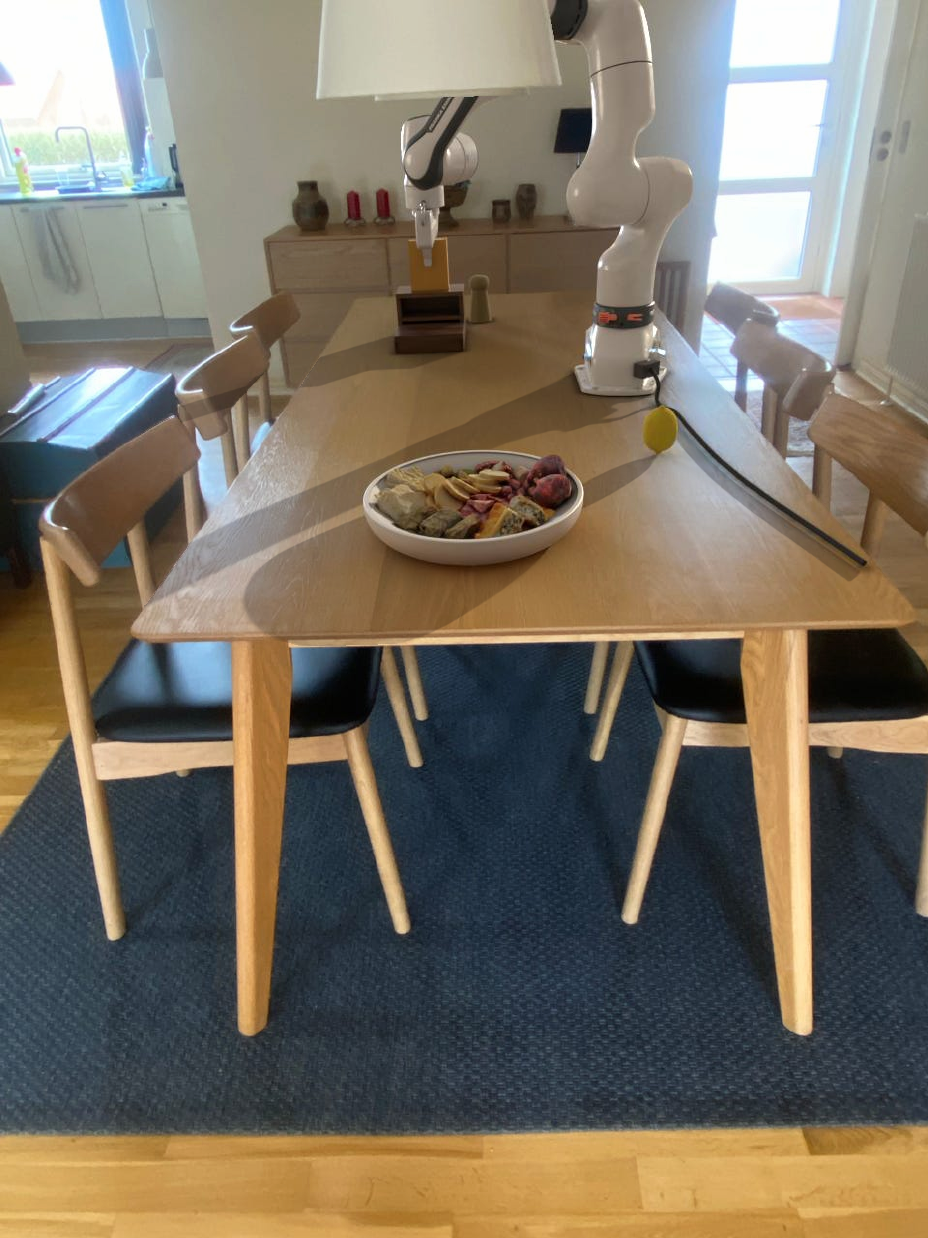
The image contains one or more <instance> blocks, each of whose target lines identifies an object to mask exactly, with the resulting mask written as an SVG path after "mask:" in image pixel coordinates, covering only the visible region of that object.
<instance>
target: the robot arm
mask: <svg viewBox="0 0 928 1238" xmlns="http://www.w3.org/2000/svg"><path fill="white" fill-rule="evenodd" d="M548 9H549V14H550V19H551V24H552V30H553V35H554V42H557V43H561V44H565V45H566V46H570V47H579V48H580V47H581V48H582V47H583V48H585V51H586V54H587V61H588V72H589V73H588V75H589V76H588V77H589V86H590V100H591V119H592V123H591V136H590V141H589V145H588V149H587V151H586V154H585V156H584V159H583V161H582V162H581V164H580V165H579V167H578V168H577V169H576V170H575V172H574V173H573V174H572V176H571V177H570V179H569V181H568V184H567V188H566V194H565V197H566V198H565V199H566V207H567V210H568V213H569V215H570V217H571V218H572V220H573V221H574V223H576V224H577V225H578V226H580V227H586V228H593V229H608V228H616V227H620V229H619V233H618V235H617V237H616V239H615V240H614V242H613V243H612V244H611V245H610V247H609V248H608V249H606V250H605V251H604V252H603V253H602V255H601V256H600V257H599V259H598V262H597V268H596V269H597V270H596V271H597V272H596V293H595V295H596V296H595V301H594V302H593V307H592V322H593V323H592V325H591V326H590V327H589V328H588V329H586V330H585V347H584V353H583V355H582V360H583V361H584V364H579V365H576V366H575V367H574V370H573V371H574V375H575V378H576V381H577V383H578V386H579V389H580V392H581V393H585V394H589V395H596V396H609V397H610V396H612V397H613V396H615V397H631V396H633V397H634V396H646V395H650V394H654V401H655V404H656V406H657V408H658V407H660V406H662V405H663V404H662V402H661V401H660V393H661V387H662V386H661V385H662V384H661V382H662V381H663V380H664V378H665V377H666V375H667V373H668V368H667V367H666V366H663V365H661V355H666V350H663V349H661V341H660V334H661V331H660V330H659V329H658V328H657V327H656V326H655V324H654V319H655V318H654V317H655V311H656V307H655V301H654V299H653V298H654V288H655V279H656V270H657V263H658V259H659V254H660V251H661V248H662V246H663V243H664V240H665V238H666V236H667V234H668V232H669V230H670V228H671V226H672V225H673V223H674V222H675V220H677V218H678V217H679V216H680V215H681V214H682V212H684V211H685V210H686V209H687V207H688V206H689V203H690V202H691V199H692V196H693V192H694V177H693V173H692V171H691V168H690V166H689V164H687V163H686V162H685V160H682V159H679V158H675V157H671V156H665V155H656V156H646V157H636V155H635V153H636V152H635V151H636V143H637V140H638V137H639V135H640V134H641V133H642V132H643V131H644V130H646V128H647V127H648V126H649V125H650V124H651V122H652V121H653V119H654V118H655V117H654V116H655V113H656V97H655V95H656V94H655V81H654V65H653V54H652V46H651V38H650V34H649V29H648V22H647V19H646V15H645V11H644V8H643V6H642V4H641V2H640V1H639V0H548ZM502 97H504V96H474V97H443V98H442V97H441V98H440V99H439V101H438V102H437V104H436V106H435V108H434V109H433V111H432V112H431V114H422V115H417V116H413V117H410V118H408V119H407V120H405V122H403V124H402V129H401V138H400V139H401V140H400V141H401V158H402V159H401V161H402V166H403V172H404V182H403V186H404V198H405V208H406V209H408V210H411V215H412V217H414V226H415V238H416V244H417V248H418V249H422V253H423V258H424V265H425V266H431V265H432V255H431V250H432V249H431V248H432V247H433V245H434V241H435V238H436V237H438V232H439V231H438V230H439V215H440V208H442V207H445V193H444V186H448V185H453V184H457V183H463V182H465V181H467V180H469V179H471V178H473V176H474V174H476V171H477V169H478V166H479V151H478V147H477V144H476V142H475V141H474V139H473V137H472V136H470V135H469V134H468V133H464V132H460V131H461V130H462V128H463V126H464V125H465V123H466V122H467V120H468V119H469V117H471V116H472V114H473V113H475V112H476V111H477V110H479V108H481V107H483V106H484V105H486V104H488V103H491V102H493V101H495V100H497V99H500V98H502ZM664 406H665V408H668V409H670V410H671V411H672V412H673V413H674V414H675V416H676V418H677V420H678V421H680V423H681V424H682V425H683V426H684V428H685V429H686V430H687V431H688V432H689V433H690V435H691V436H692V437H693V438H694V439H695V441H696V442H697V443H699V445H700V446H701V447H702V448H703V449H704V450H705V451H706V452H707V453H708V454H709V455H710V456H711V457H712V458H713V459H714V460H715V461H716V462H717V463H718V464H719V465H721V466H722V467H723V468H724V469H725V470H726V471H728V472H729V473H730V474H731V475H732V476H733V477H734V478H736V479H737V480H738V481H740V482H741V483H742V484H743V485H745V486H746V487H747V488H749V489H750V490H751V491H753V492H754V493H755V494H757V495H758V496H759V497H761V498H762V499H764V500H765V501H767V502H768V503H769V504H771V505H772V506H774V507H775V508H777V509H778V510H779V511H781V512H782V513H784V514H785V515H787V516H788V517H790V518H791V519H792V520H794V521H796V522H797V523H798V524H800V525H801V526H803V527H804V528H806V529H808V530H809V531H810V532H812V533H813V534H815V535H816V536H818V537H819V538H821V539H823V540H824V541H825V542H827V543H828V544H830V545H831V546H833V547H834V548H836V549H837V550H838V551H840V552H841V553H842V554H844V555H846V556H847V557H849V558H850V559H851V560H853V561H854V562H855V563H857V564H859V566H861V567H865V566H866V565H867V564H868V561H867V560H866V559H865V558H863V557H861V556H860V555H859V554H857V553H856V552H854V551H853V550H852V549H850V548H849V547H847V546H846V545H844V544H843V543H841V542H840V541H839V540H837V539H835V538H834V537H832V536H831V535H829V534H828V533H826V532H825V531H824V530H822V529H821V528H819V527H818V526H816V525H814V524H813V523H811V522H810V521H809V520H807V519H805V518H804V517H802V515H799V514H798V513H796V511H794V510H792V509H790V508H789V507H788V506H786V505H784V504H783V503H781V502H780V501H778V500H777V499H775V498H774V497H772V496H771V495H770V494H768V493H766V492H765V491H764V490H762V489H761V488H760V487H759V486H757V485H756V484H755V483H753V482H752V481H750V480H749V479H748V478H747V477H745V476H744V475H742V474H741V473H740V472H739V471H738V470H736V469H735V468H734V467H733V466H732V465H730V464H729V463H728V462H727V461H726V460H725V459H723V457H722V456H720V455H719V454H718V453H717V452H716V451H715V450H714V449H713V448H712V447H711V446H710V444H708V443H707V442H706V441H705V440H704V439H703V438H702V437H701V435H700V434H699V433H698V432H697V431H696V430H695V429H694V428H693V426H691V425H690V423H689V422H688V421H687V420H686V418H685V416H683V414H681V412H679V411H678V410H677V409H675V408H673V407H670V406H666V405H664Z"/></svg>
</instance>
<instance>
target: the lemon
mask: <svg viewBox="0 0 928 1238" xmlns="http://www.w3.org/2000/svg"><path fill="white" fill-rule="evenodd" d="M665 406H666V405H663V404H662V406H660V407H658V406H657V407H656V408H654V409H651V410H650V411H649V412H648V413H647V415H646V416H645V418H644V420H643V424H642V430H641V431H642V440H643V444H645V446H646V447H647V448H648V450H650V451H653V452H654V453H655V454H656V455H660V454H662V452H665V451H668V450H669V449H670V448H671V447H672V446H673V445H674V444H675V443H676V440H677V438H678V433H679V422H678V417H677V416H676V415H675V414H674V413H673V412H672V411H671V410H670V409H668V408H665Z"/></svg>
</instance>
